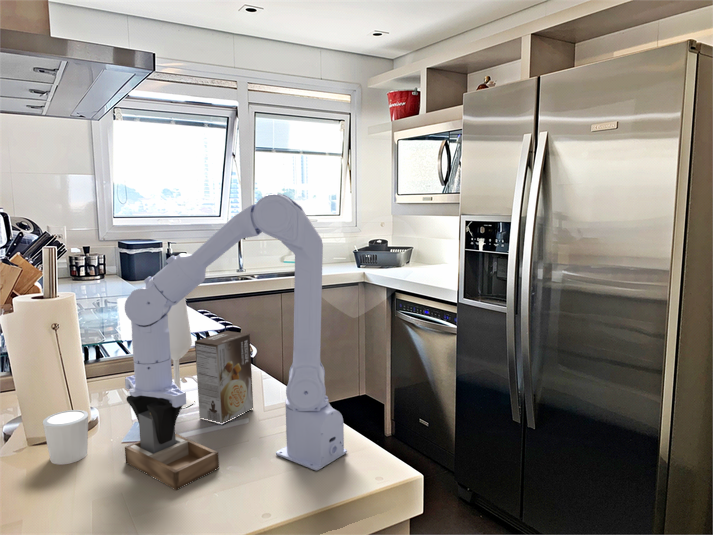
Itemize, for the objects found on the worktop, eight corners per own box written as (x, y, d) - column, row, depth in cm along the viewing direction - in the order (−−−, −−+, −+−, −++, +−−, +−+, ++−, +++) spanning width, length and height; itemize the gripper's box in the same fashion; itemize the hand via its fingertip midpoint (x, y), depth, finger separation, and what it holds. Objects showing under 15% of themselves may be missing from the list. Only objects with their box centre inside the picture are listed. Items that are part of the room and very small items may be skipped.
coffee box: (230, 404, 116) (227, 329, 113) (254, 409, 112) (251, 333, 110) (198, 419, 108) (193, 340, 106) (222, 426, 105) (218, 344, 102)
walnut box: (219, 468, 89) (218, 452, 88) (176, 490, 82) (175, 472, 82) (168, 444, 97) (167, 429, 97) (125, 462, 91) (124, 446, 91)
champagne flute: (176, 412, 111) (169, 296, 108) (154, 405, 115) (147, 293, 112) (201, 401, 117) (196, 290, 114) (180, 395, 121) (174, 288, 117)
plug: (176, 448, 92) (173, 406, 91) (154, 458, 89) (151, 414, 88) (162, 442, 95) (159, 400, 94) (140, 451, 91) (138, 408, 90)
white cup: (41, 468, 89) (37, 428, 88) (52, 450, 96) (48, 411, 95) (87, 463, 91) (84, 422, 90) (95, 444, 98) (92, 407, 97)
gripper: (105, 356, 91) (111, 434, 93) (155, 374, 82) (161, 459, 84) (144, 347, 96) (149, 420, 98) (195, 362, 88) (199, 442, 90)
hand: (157, 437), depth 92 cm, fingers closed on plug, 4 cm apart
